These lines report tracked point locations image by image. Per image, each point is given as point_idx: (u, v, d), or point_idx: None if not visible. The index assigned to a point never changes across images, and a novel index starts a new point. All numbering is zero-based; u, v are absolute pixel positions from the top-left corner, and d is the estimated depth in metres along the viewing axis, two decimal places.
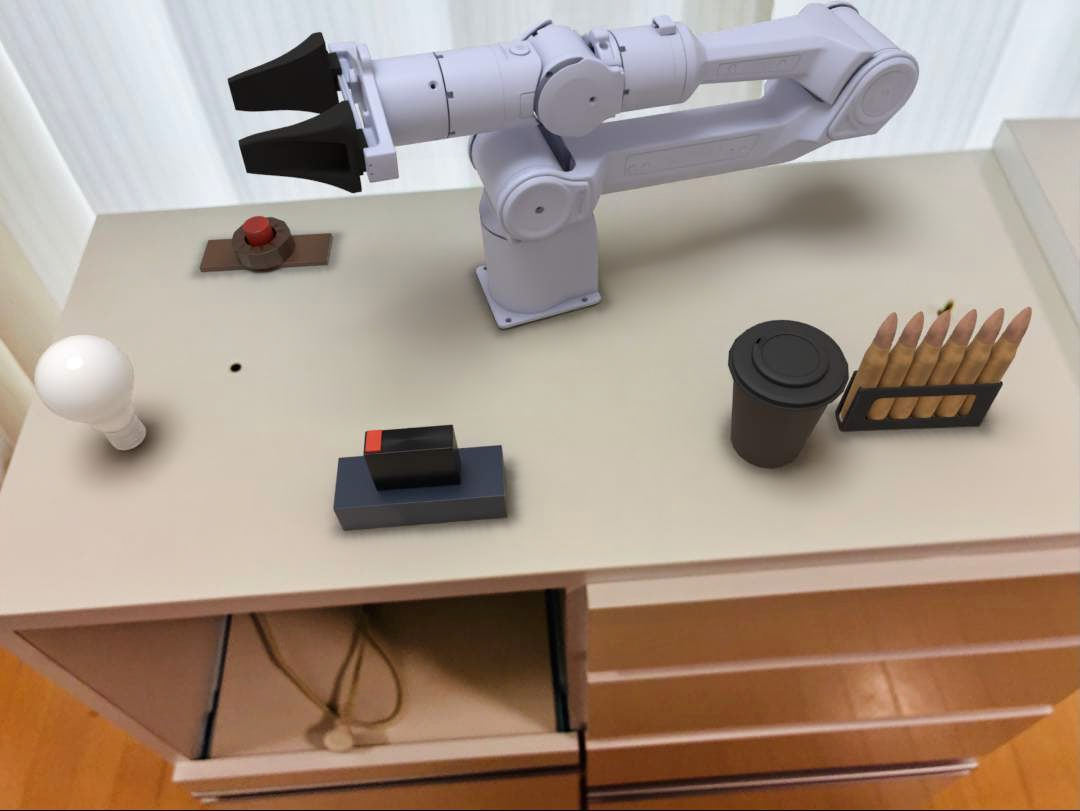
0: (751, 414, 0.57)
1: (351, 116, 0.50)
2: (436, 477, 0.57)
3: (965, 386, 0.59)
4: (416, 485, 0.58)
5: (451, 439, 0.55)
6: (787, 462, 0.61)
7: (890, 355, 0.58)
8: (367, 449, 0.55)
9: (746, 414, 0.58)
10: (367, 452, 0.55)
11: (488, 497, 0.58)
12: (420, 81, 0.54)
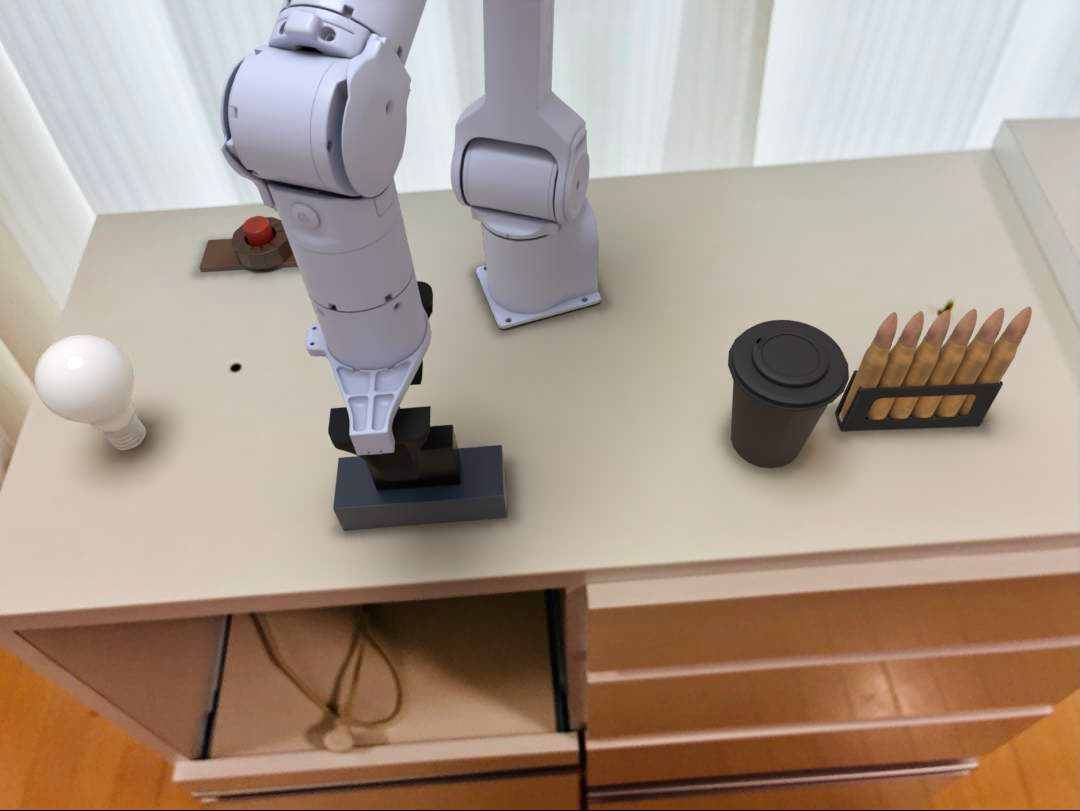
0: (751, 414, 0.57)
1: (329, 435, 0.45)
2: (436, 477, 0.57)
3: (965, 386, 0.59)
4: (416, 485, 0.58)
5: (451, 439, 0.55)
6: (787, 462, 0.61)
7: (890, 355, 0.58)
8: None
9: (746, 414, 0.58)
10: None
11: (488, 497, 0.58)
12: (321, 321, 0.44)
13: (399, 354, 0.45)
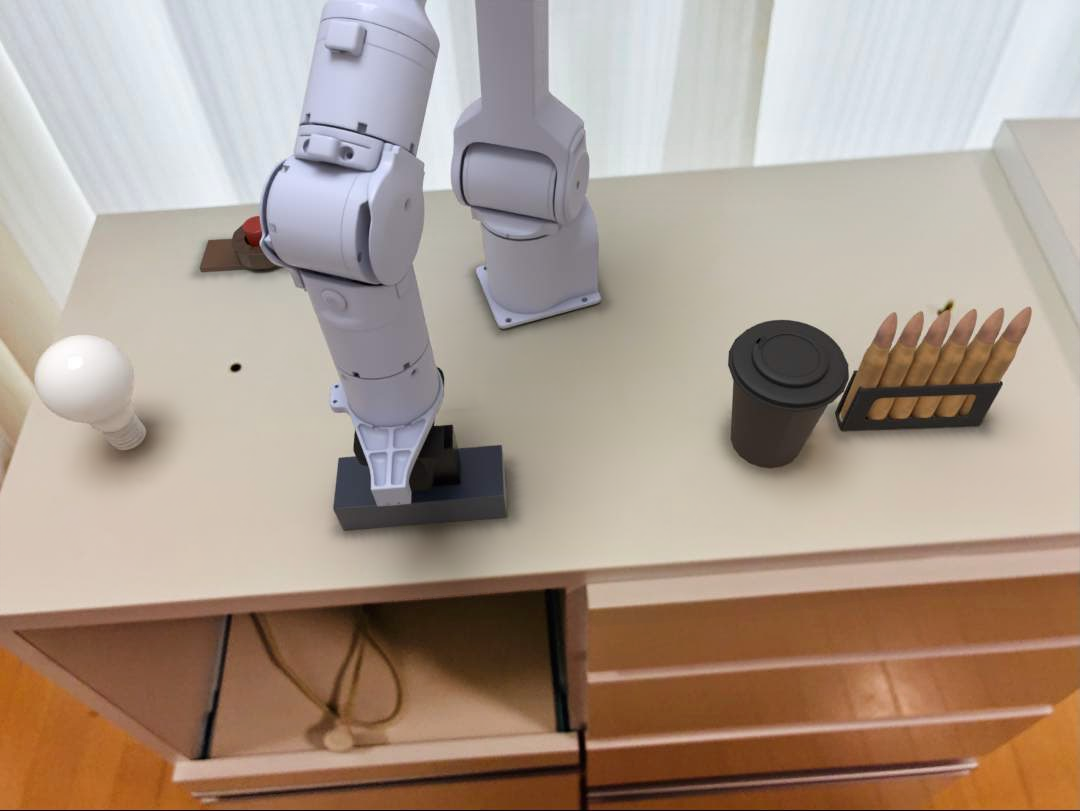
0: (751, 414, 0.57)
1: (354, 452, 0.51)
2: (436, 477, 0.57)
3: (965, 386, 0.59)
4: None
5: (451, 439, 0.55)
6: (787, 462, 0.61)
7: (890, 355, 0.58)
8: None
9: (746, 414, 0.58)
10: None
11: (488, 497, 0.58)
12: (344, 384, 0.48)
13: (415, 413, 0.49)
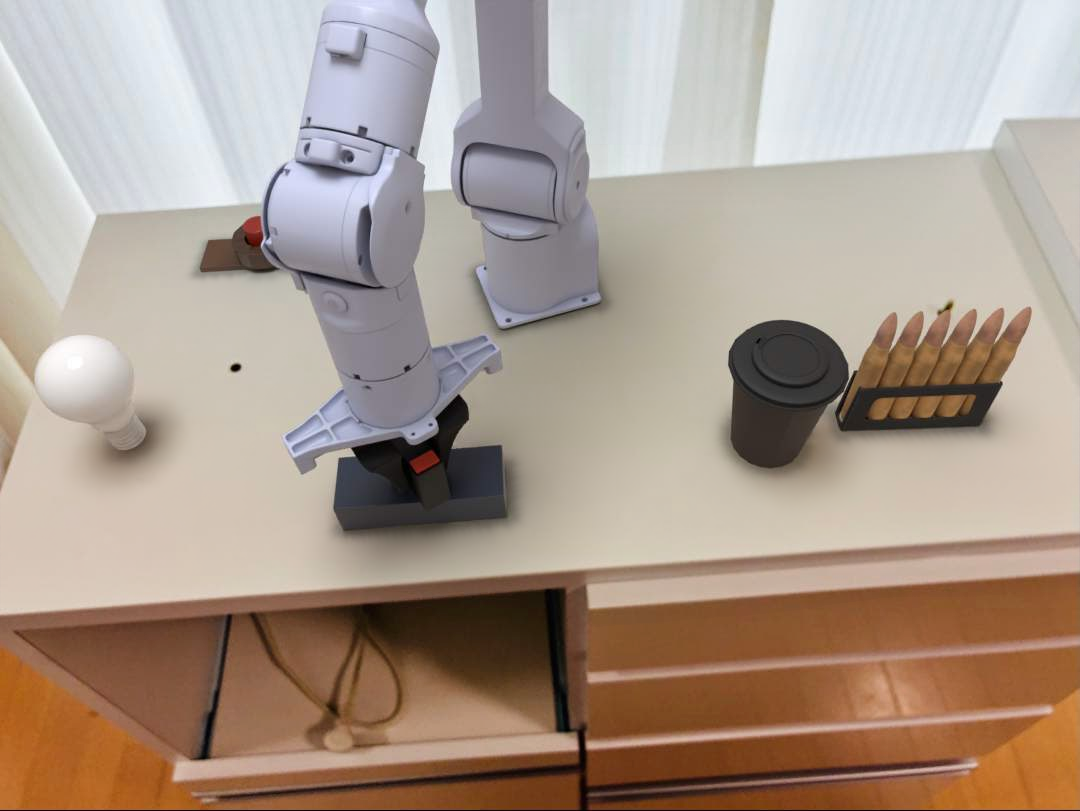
0: (751, 414, 0.57)
1: (464, 417, 0.53)
2: None
3: (965, 386, 0.59)
4: None
5: None
6: (787, 462, 0.61)
7: (890, 355, 0.58)
8: (436, 458, 0.54)
9: (746, 414, 0.58)
10: (438, 460, 0.54)
11: (488, 497, 0.58)
12: (429, 371, 0.48)
13: None
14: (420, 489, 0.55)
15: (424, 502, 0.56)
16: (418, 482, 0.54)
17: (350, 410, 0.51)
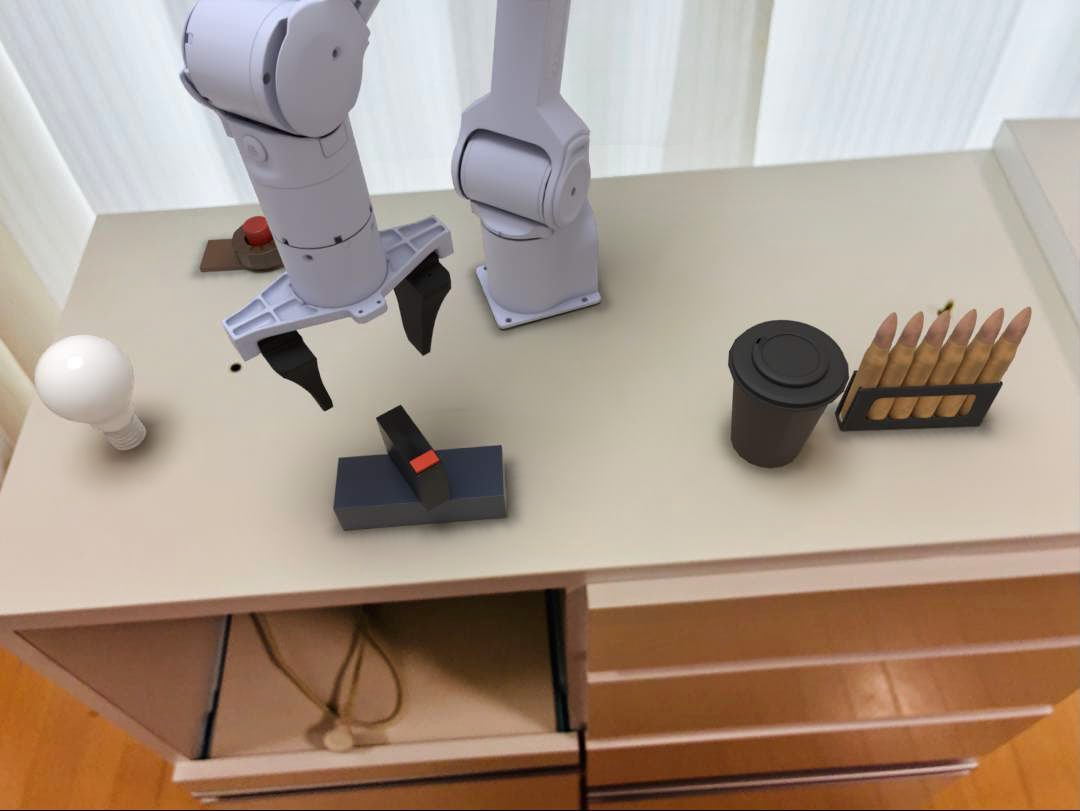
0: (751, 414, 0.57)
1: (447, 284, 0.51)
2: None
3: (965, 386, 0.59)
4: None
5: (392, 409, 0.57)
6: (787, 462, 0.61)
7: (890, 355, 0.58)
8: (436, 458, 0.54)
9: (746, 414, 0.58)
10: (438, 460, 0.54)
11: (488, 497, 0.58)
12: (374, 243, 0.46)
13: None
14: (420, 489, 0.55)
15: (424, 502, 0.56)
16: (418, 482, 0.54)
17: (294, 293, 0.48)
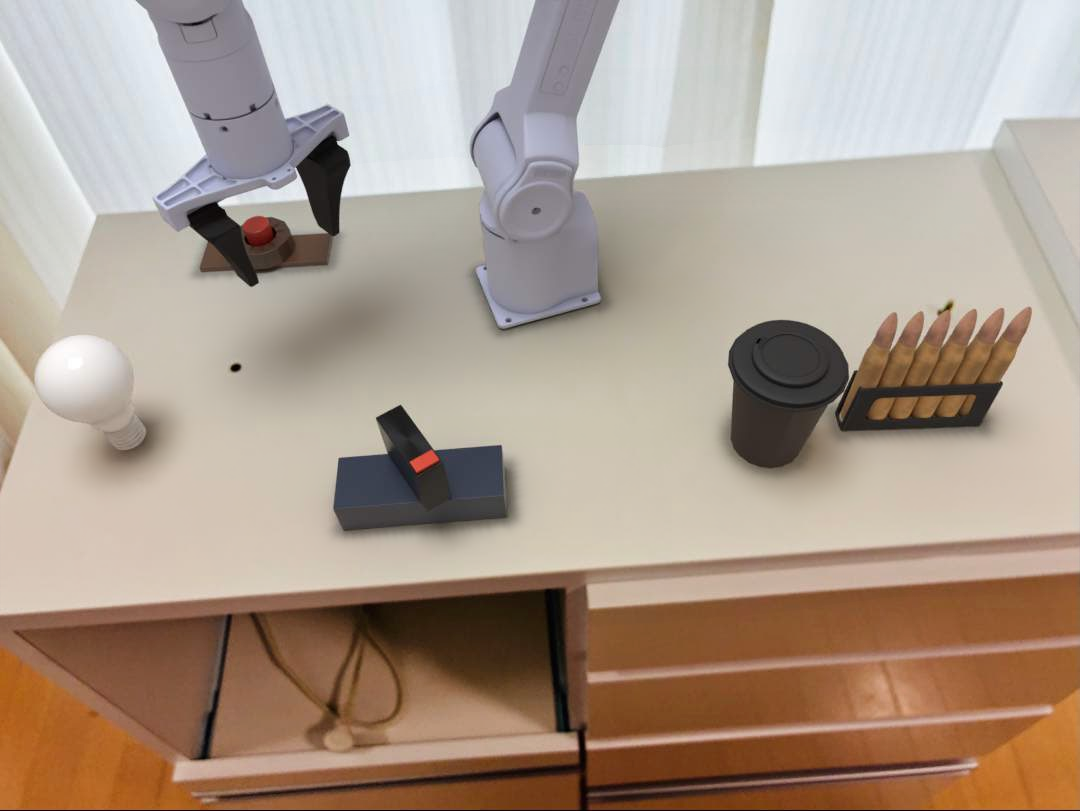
0: (751, 414, 0.57)
1: (346, 159, 0.60)
2: None
3: (965, 386, 0.59)
4: None
5: (392, 409, 0.57)
6: (787, 462, 0.61)
7: (890, 355, 0.58)
8: (436, 458, 0.54)
9: (746, 414, 0.58)
10: (438, 460, 0.54)
11: (488, 497, 0.58)
12: (279, 117, 0.55)
13: None
14: (420, 489, 0.55)
15: (424, 502, 0.56)
16: (418, 482, 0.54)
17: (213, 171, 0.56)
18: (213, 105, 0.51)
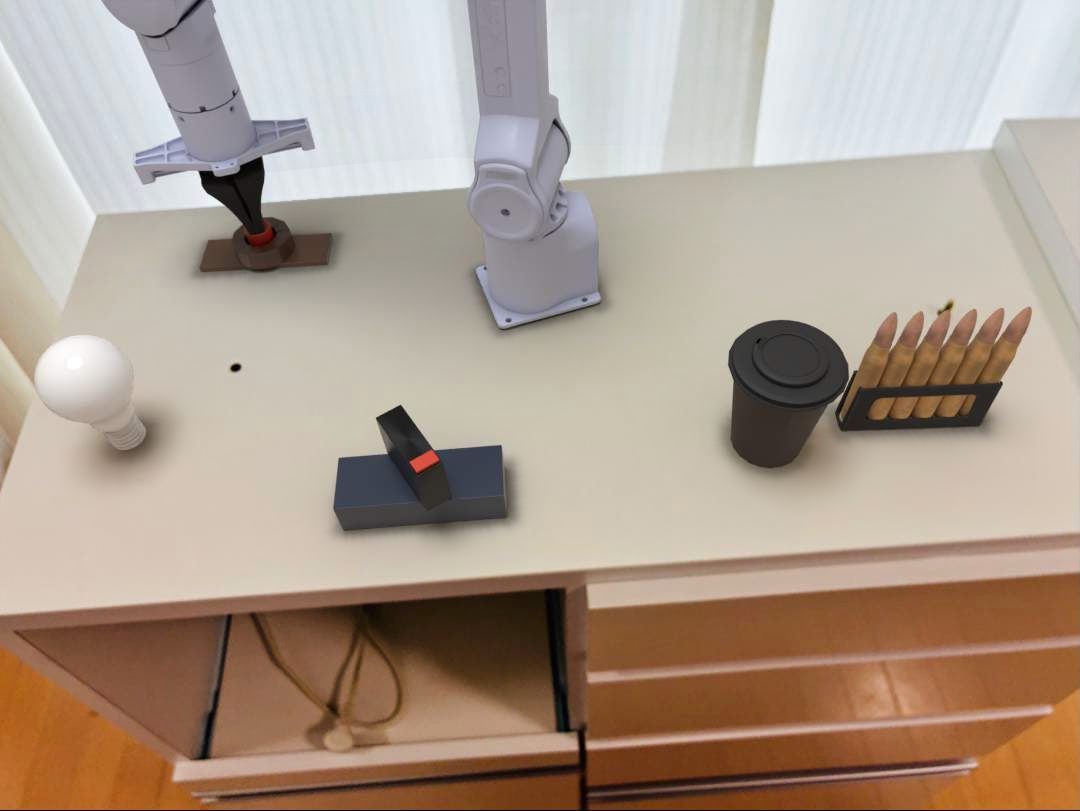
0: (751, 414, 0.57)
1: (257, 177, 0.69)
2: None
3: (965, 386, 0.59)
4: None
5: (392, 409, 0.57)
6: (787, 462, 0.61)
7: (890, 355, 0.58)
8: (436, 458, 0.54)
9: (746, 414, 0.58)
10: (438, 460, 0.54)
11: (488, 497, 0.58)
12: (233, 120, 0.66)
13: None
14: (420, 489, 0.55)
15: (424, 502, 0.56)
16: (418, 482, 0.54)
17: (186, 146, 0.69)
18: (171, 99, 0.63)
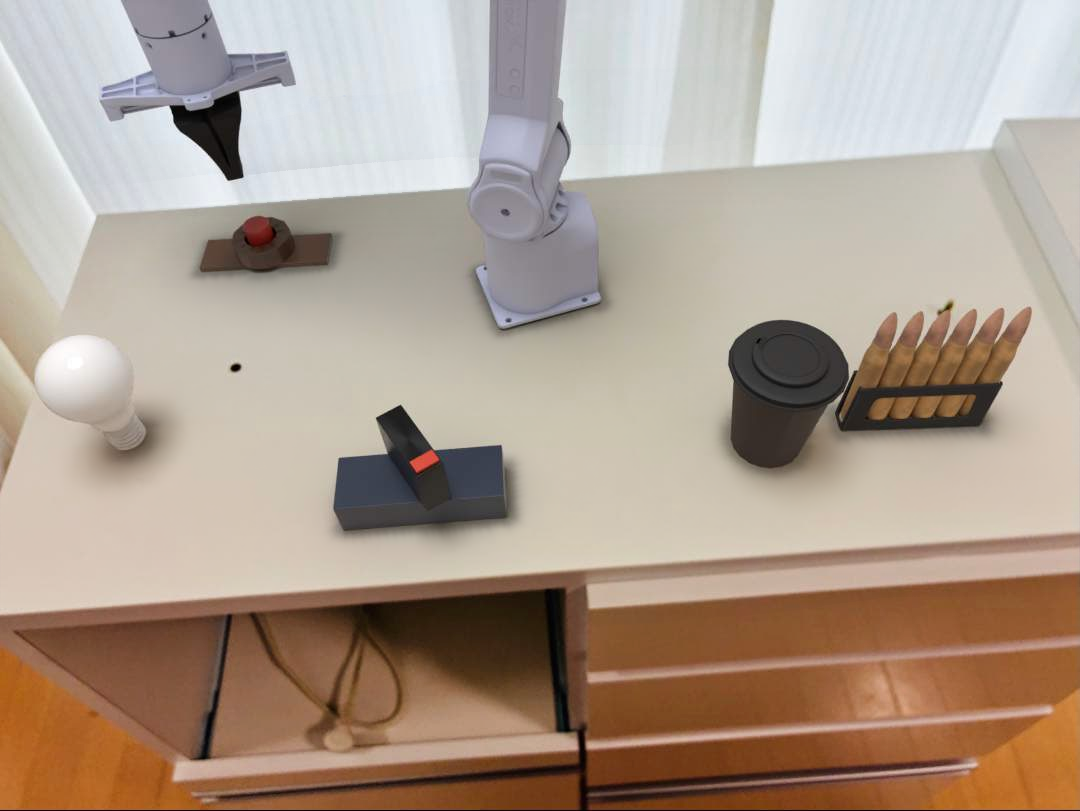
0: (751, 414, 0.57)
1: (233, 113, 0.65)
2: None
3: (965, 386, 0.59)
4: None
5: (392, 409, 0.57)
6: (787, 462, 0.61)
7: (890, 355, 0.58)
8: (436, 458, 0.54)
9: (746, 414, 0.58)
10: (438, 460, 0.54)
11: (488, 497, 0.58)
12: (205, 49, 0.61)
13: None
14: (420, 489, 0.55)
15: (424, 502, 0.56)
16: (418, 482, 0.54)
17: (157, 80, 0.64)
18: (138, 22, 0.58)
